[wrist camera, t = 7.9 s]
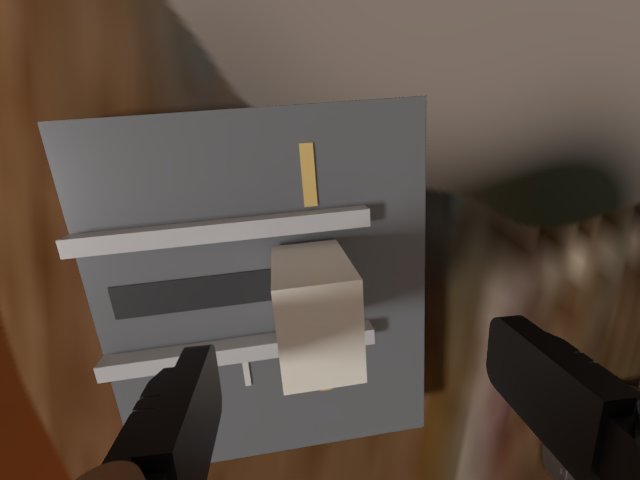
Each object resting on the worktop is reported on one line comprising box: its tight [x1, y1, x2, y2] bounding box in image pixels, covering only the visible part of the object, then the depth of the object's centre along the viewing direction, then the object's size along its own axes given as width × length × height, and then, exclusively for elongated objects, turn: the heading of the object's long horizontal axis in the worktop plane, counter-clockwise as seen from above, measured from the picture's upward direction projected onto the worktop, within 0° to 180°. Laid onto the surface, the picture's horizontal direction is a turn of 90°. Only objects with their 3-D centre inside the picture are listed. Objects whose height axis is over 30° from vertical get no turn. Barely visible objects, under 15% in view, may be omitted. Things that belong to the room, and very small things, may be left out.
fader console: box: [37, 96, 426, 463], centre depth 18 cm, size 16×18×3 cm
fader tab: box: [271, 239, 367, 396], centre depth 14 cm, size 3×4×5 cm
